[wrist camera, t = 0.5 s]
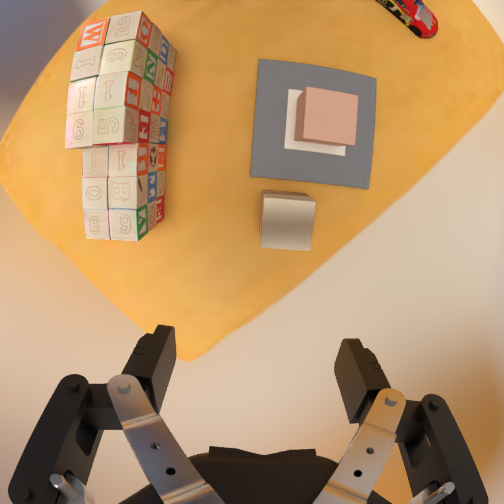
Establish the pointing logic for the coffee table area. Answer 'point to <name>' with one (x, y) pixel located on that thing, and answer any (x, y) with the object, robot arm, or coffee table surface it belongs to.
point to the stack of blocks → (121, 123)
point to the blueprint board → (283, 126)
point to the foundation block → (326, 117)
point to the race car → (413, 16)
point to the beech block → (286, 220)
